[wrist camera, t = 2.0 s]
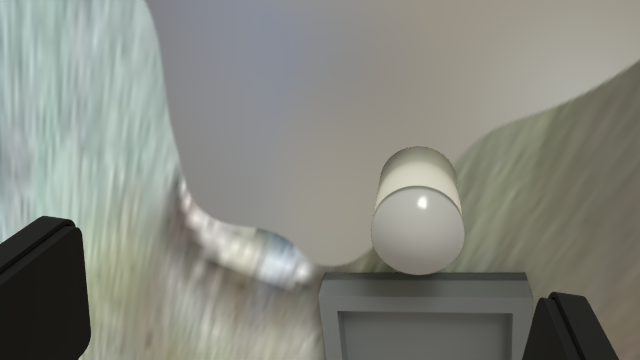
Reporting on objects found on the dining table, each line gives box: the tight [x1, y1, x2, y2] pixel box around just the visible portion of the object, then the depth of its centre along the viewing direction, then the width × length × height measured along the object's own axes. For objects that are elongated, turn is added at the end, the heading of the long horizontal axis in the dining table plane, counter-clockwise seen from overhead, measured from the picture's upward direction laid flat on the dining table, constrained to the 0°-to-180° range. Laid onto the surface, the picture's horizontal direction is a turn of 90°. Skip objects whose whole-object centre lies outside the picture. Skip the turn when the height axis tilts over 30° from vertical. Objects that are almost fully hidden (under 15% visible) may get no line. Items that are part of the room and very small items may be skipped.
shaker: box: [371, 146, 465, 275], centre depth 33 cm, size 5×5×8 cm
